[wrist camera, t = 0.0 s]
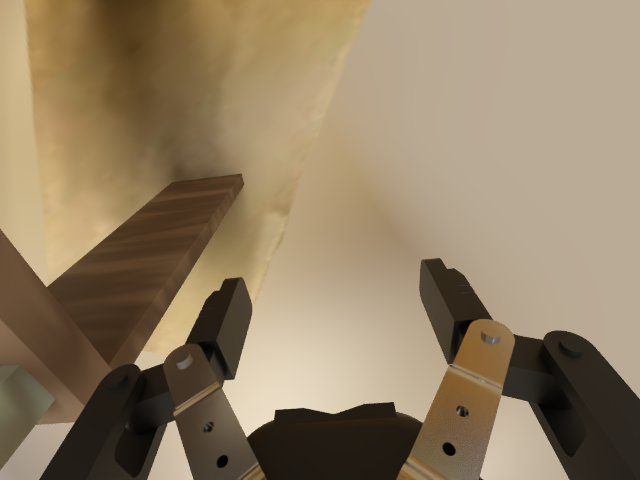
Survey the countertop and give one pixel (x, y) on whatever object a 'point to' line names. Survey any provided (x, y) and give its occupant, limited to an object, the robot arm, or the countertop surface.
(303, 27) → the countertop surface
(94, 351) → the countertop shelf
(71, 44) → the countertop surface
